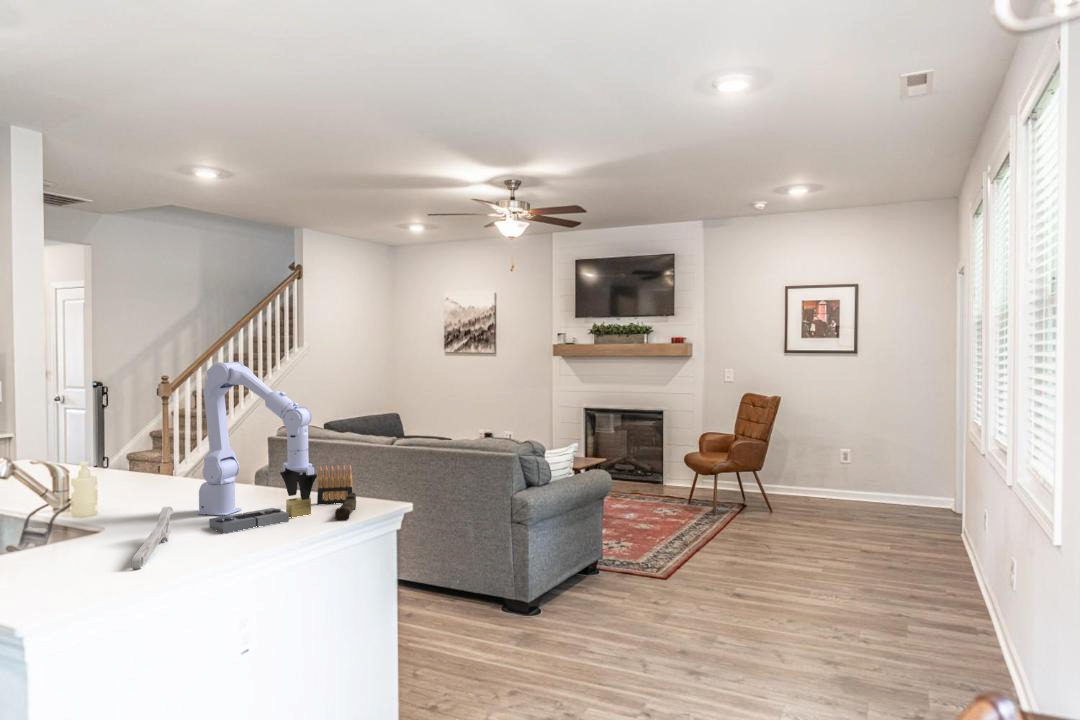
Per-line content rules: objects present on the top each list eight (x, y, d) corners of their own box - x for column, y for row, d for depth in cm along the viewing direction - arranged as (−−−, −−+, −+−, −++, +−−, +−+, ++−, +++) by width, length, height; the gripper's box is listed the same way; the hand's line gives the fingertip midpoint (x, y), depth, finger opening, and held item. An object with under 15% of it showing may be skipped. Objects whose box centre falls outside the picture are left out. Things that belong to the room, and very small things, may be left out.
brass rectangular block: (291, 518, 212) (291, 501, 212) (286, 517, 215) (286, 499, 214) (311, 515, 217) (310, 497, 217) (305, 513, 219) (305, 496, 219)
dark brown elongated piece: (349, 521, 210) (349, 505, 210) (334, 521, 210) (334, 505, 209) (363, 506, 229) (363, 491, 228) (349, 506, 228) (349, 491, 228)
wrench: (132, 583, 166) (166, 533, 194) (141, 582, 166) (174, 533, 195) (130, 548, 164) (165, 503, 193) (139, 547, 165) (173, 503, 194)
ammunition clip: (317, 504, 230) (316, 465, 230) (317, 503, 232) (317, 464, 232) (353, 503, 232) (352, 464, 232) (353, 502, 234) (352, 463, 234)
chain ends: (223, 533, 196) (223, 522, 196) (209, 527, 202) (209, 517, 202) (288, 521, 209) (288, 511, 209) (273, 516, 215) (273, 506, 215)
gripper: (323, 450, 213) (324, 498, 213) (298, 446, 223) (299, 491, 223) (300, 453, 208) (301, 502, 208) (275, 448, 218) (276, 495, 218)
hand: (298, 497), depth 216 cm, fingers open, 7 cm apart
